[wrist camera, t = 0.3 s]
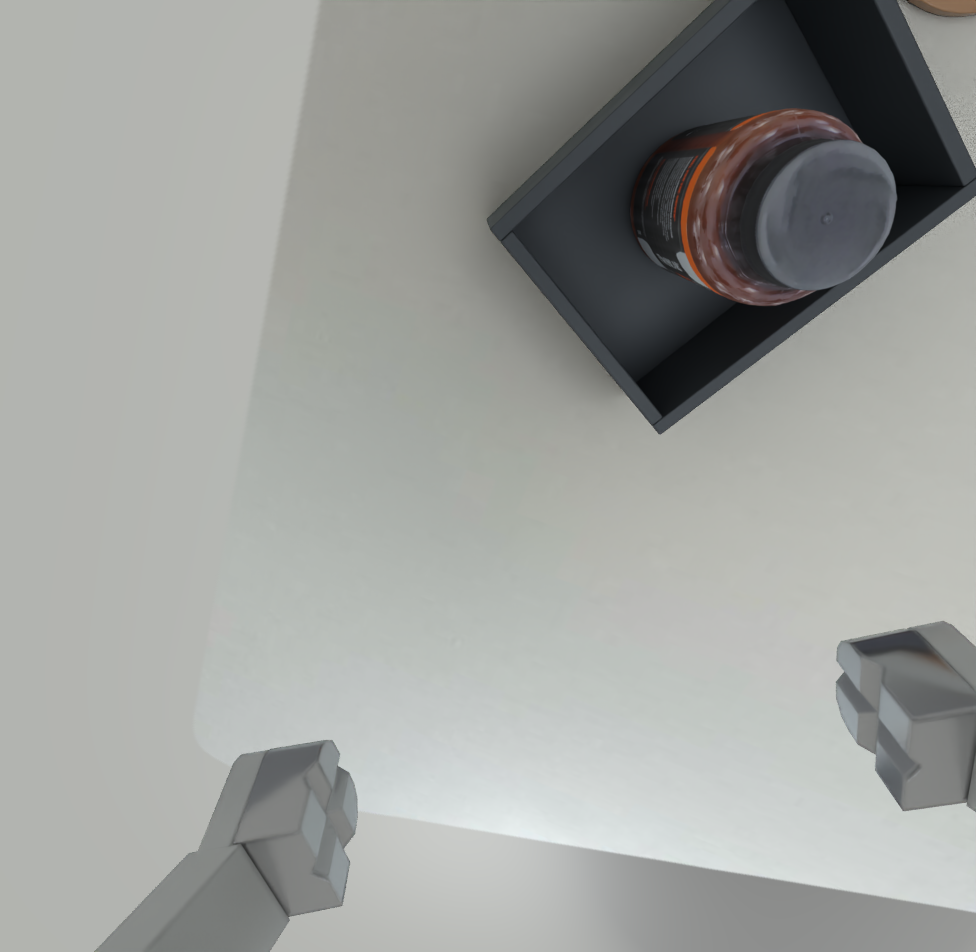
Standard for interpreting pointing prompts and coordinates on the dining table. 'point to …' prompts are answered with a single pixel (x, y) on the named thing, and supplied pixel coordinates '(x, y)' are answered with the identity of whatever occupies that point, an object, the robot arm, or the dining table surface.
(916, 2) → the coaster
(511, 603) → the dining table surface
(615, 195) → the bin
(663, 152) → the supplement bottle
